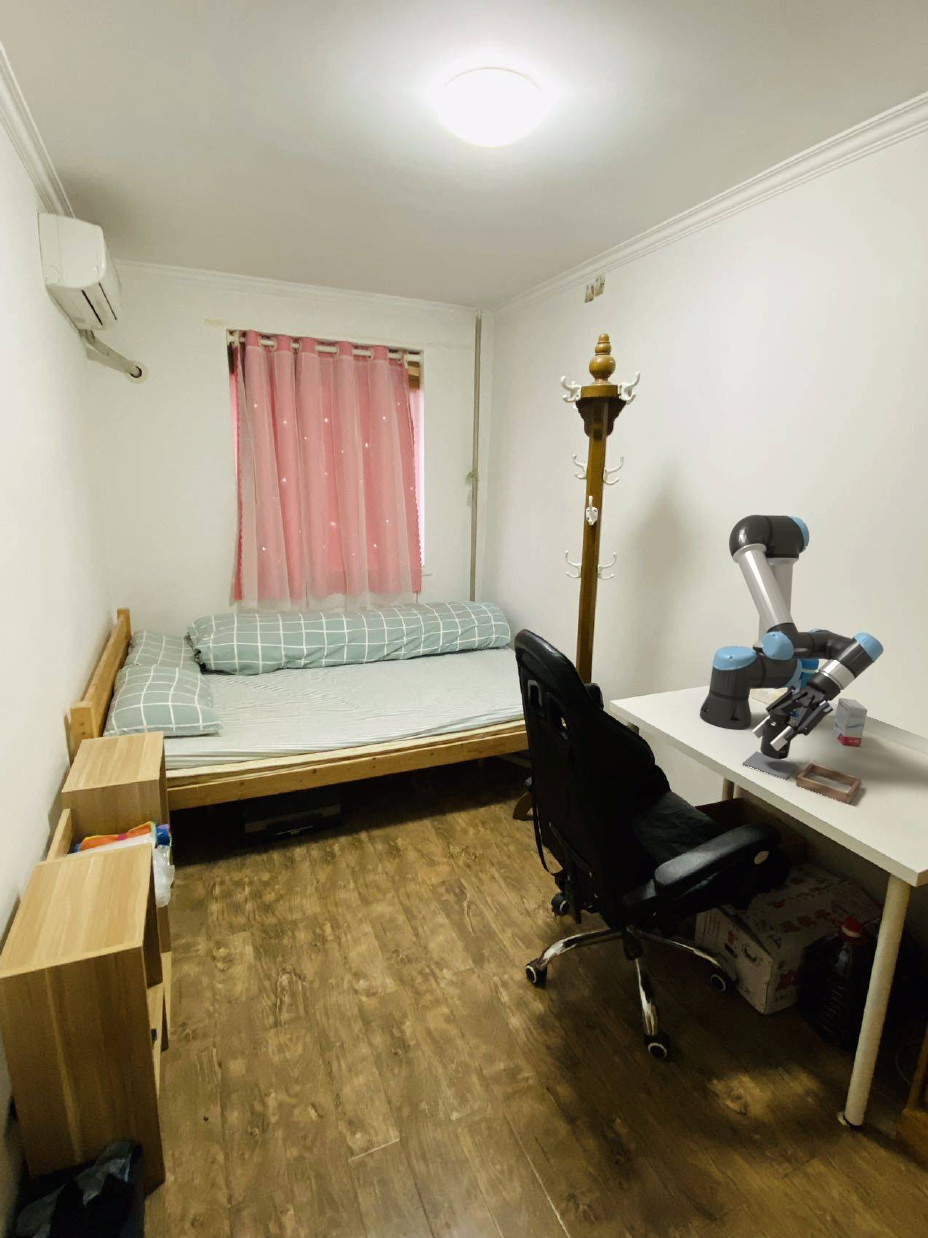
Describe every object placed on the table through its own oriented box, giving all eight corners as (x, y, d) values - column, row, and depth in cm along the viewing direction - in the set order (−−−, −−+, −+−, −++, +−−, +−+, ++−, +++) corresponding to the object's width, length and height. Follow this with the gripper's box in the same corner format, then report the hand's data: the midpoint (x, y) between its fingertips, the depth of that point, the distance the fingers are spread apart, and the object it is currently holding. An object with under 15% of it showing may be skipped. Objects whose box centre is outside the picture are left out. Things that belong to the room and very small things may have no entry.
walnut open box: (795, 785, 152) (797, 776, 151) (809, 771, 160) (810, 762, 159) (848, 804, 144) (850, 794, 143) (859, 787, 152) (861, 778, 152)
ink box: (860, 747, 176) (868, 709, 173) (842, 745, 177) (850, 707, 174) (848, 735, 184) (856, 699, 182) (831, 733, 185) (838, 697, 183)
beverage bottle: (808, 723, 192) (820, 663, 187) (779, 716, 197) (790, 657, 192) (813, 716, 198) (824, 658, 194) (785, 709, 204) (795, 652, 199)
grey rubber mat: (741, 764, 162) (742, 763, 162) (756, 752, 170) (756, 751, 169) (785, 780, 154) (786, 778, 154) (798, 766, 162) (799, 765, 162)
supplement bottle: (754, 748, 164) (761, 707, 161) (778, 748, 164) (785, 707, 162) (769, 760, 157) (776, 716, 154) (793, 759, 158) (801, 717, 155)
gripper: (866, 704, 150) (797, 767, 151) (809, 678, 169) (748, 734, 170) (852, 684, 148) (782, 748, 149) (795, 660, 167) (734, 717, 167)
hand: (764, 740), depth 159 cm, fingers closed on supplement bottle, 7 cm apart
